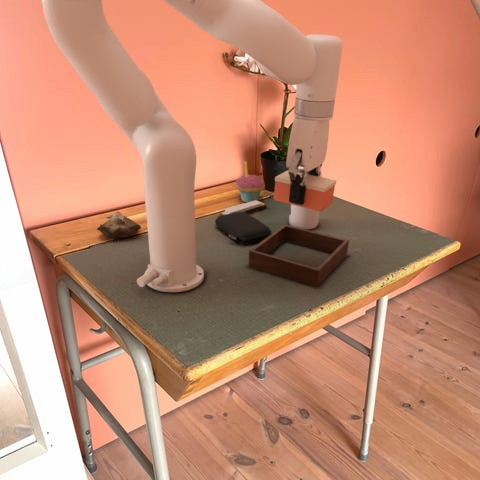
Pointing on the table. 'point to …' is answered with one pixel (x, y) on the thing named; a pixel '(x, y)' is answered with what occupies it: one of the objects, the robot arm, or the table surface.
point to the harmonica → (245, 208)
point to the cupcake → (249, 186)
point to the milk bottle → (303, 215)
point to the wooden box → (293, 269)
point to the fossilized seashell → (119, 226)
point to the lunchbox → (306, 191)
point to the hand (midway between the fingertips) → (303, 198)
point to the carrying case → (243, 227)
